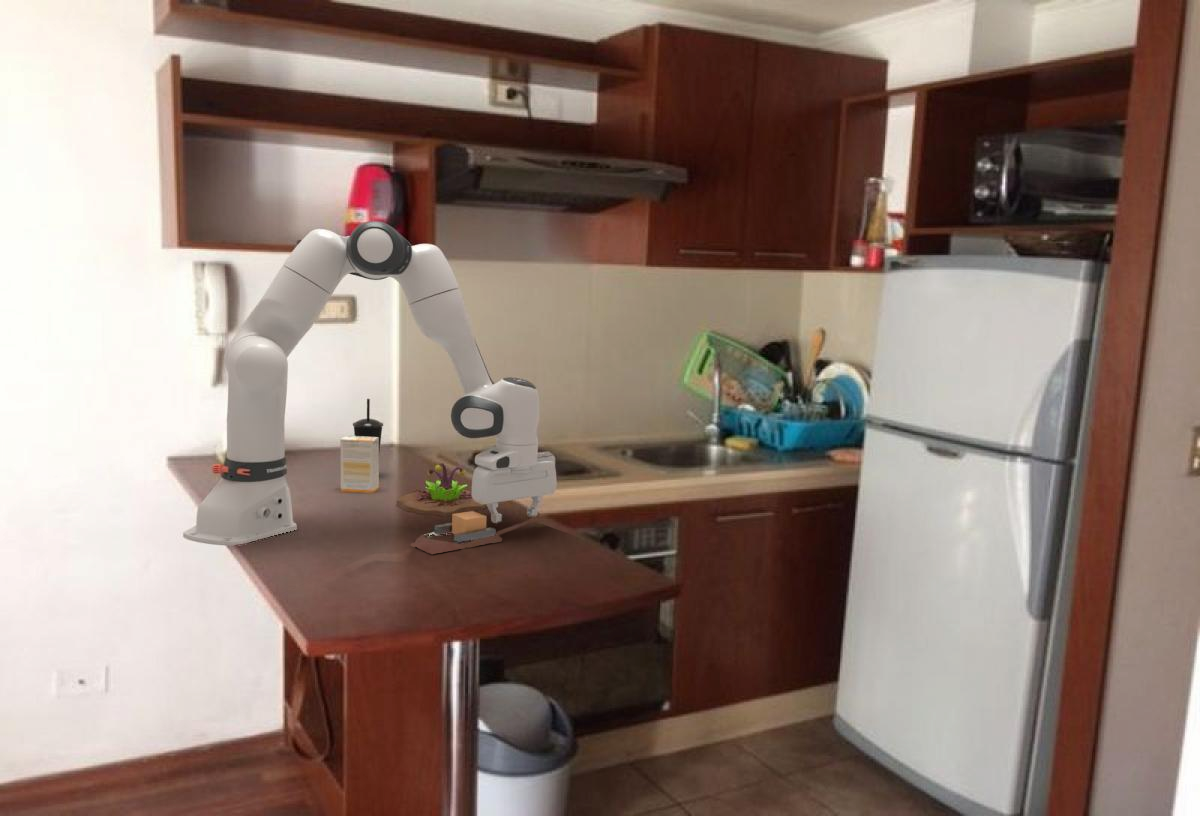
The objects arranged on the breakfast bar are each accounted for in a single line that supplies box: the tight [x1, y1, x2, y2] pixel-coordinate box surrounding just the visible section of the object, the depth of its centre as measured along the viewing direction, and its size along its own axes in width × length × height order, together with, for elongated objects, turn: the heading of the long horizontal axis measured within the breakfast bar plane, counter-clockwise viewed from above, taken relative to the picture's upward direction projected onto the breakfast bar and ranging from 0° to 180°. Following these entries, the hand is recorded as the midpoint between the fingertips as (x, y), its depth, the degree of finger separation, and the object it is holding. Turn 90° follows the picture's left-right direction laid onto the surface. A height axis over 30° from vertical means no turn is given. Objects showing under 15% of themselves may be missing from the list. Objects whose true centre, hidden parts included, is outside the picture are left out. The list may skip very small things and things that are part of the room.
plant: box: [395, 462, 488, 517], centre depth 228 cm, size 20×20×11 cm
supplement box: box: [339, 435, 380, 494], centre depth 241 cm, size 8×5×13 cm, turn 84°
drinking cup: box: [352, 398, 384, 453], centre depth 257 cm, size 8×8×20 cm
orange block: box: [451, 511, 487, 535], centre depth 205 cm, size 5×5×4 cm
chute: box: [423, 522, 497, 543], centre depth 203 cm, size 17×11×3 cm, turn 132°
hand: (514, 519), depth 213 cm, fingers open, 8 cm apart
